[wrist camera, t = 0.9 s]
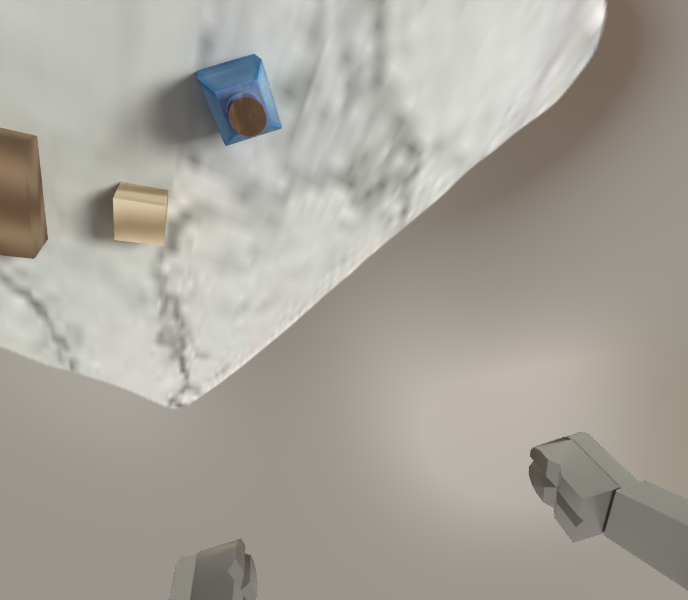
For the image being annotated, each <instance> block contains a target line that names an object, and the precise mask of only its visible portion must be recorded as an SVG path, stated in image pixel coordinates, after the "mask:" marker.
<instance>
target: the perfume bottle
mask: <svg viewBox="0 0 688 600" xmlns="http://www.w3.org/2000/svg"><path fill="white" fill-rule="evenodd" d="M197 79H198V81H199V84H200V86H201V88H202V91H203V93H204V96H205V98H206V100H207V103H208V105H209V108H210V110H211V112H212V115H213V117H214V120H215V122H216V124H217V127H218V129H219V132H220V134H221V136H222V139H223V141H224V144H225V146H227V145H230V144H233V143H237V142H240V141H243V140H246V139H249V138H252V137H256V136H259V135H262V134H265V133H268V132H271V131H274V130H278V129H281V128H282V125H281V122H280V119H279V116H278V112H277V109H276V106H275V102H274V99H273V96H272V92H271V89H270V86H269V83H268V79H267V76H266V73H265V69H264V66H263V63H262V59H260V58H259V57H258V56H256V55H255V54H253V55H249V56H246V57H242V58H239V59H236V60H232V61H229V62H225V63H222V64H219V65H215V66H212V67H208V68H205V69H202V70H198V77H197Z"/></svg>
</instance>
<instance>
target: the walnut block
mask: <svg viewBox="0 0 688 600" xmlns="http://www.w3.org/2000/svg"><path fill="white" fill-rule="evenodd" d="M47 240H48V236H47V226H46V217H45V207H44V198H43V188H42V179H41V169H40V160H39V150H38V141H37V136H34V135H30V134H26V133H21V132H17V131H12V130H8V129H4V128H0V255H5V256H14V257H23V258H32V259H35V257H36V256H37V254H38V253H39V251H40V250H41V248H42V247H43V245H44V244H45V242H46V241H47Z"/></svg>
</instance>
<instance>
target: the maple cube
mask: <svg viewBox="0 0 688 600" xmlns="http://www.w3.org/2000/svg"><path fill="white" fill-rule="evenodd" d="M167 207H168V190H163V189H157V188H152V187H146V186H140V185H135V184H129V183H123V182H120V184H119V186H118V188H117V190H116V193H115V195H114V197H113V217H114V240H119V241H127V242H136V243H144V244H152V245H161V246H164V240H165V234H166V228H167Z"/></svg>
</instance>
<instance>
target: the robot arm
mask: <svg viewBox="0 0 688 600" xmlns="http://www.w3.org/2000/svg"><path fill="white" fill-rule="evenodd" d="M530 457H531V458H532V459H533V460H534V461H533V462H532V464H531V465H530V466H529V477H530V480H531V483H532V485H533V487H534V489H535V491H536V493H537V494H538V496H539V497H540V498H541V500H542V501H543V502H544V503H546V504H548V505H550V506H552V507H553V508H554V516H555V519H556V520H557V522H558V523H559V524H560V526H561V527H562V528H563V530H564V531H565V532H566V534H567V535H568V536H569V538H570V539H571V540H572V542H577V541H580V540H583V539H586V538H590V537H593V536H596V535H599V534H603V533H604V536H606V537H607V538H609V539H610V540H612V541H613V542H615V543H616V544H618V545H620V546H621V547H622V548H624V549H626V550H627V551H629V552H630V553H631V554H633V555H634V556H636V557H638V558H639V559H641V560H642V561H644V562H645V563H647V564H648V565H650V566H651V567H653V568H654V569H656V570H657V571H659V572H660V573H662V574H663V575H665V576H667V577H668V578H670V579H671V580H673V581H674V582H676V583H677V584H679V585H680V586H682V587H683V588H685V589H686V590H688V499H686V498H683V497H681V496H679V495H676V494H674V493H672V492H670V491H668V490H665V489H663V488H661V487H658V486H656V485H654V484H652V483H649V482H647V481H642V482H639V481H638V480H637V479H636V478H635V477H634V476H633V475H632V474H631V473H630V472H629V471H627V470H626V469H625V468H624V467H623V466H622V465H621V464H620V463H619V462H618V461H617V460H616V459H615V458H614V457H613V456H612V455H610V454H609V453H608V452H607V451H606V450H605V449H604V448H603V447H602V446H601V445H600V444H599V443H598V442H596V440H595V439H593V438H592V437H591V436H590V435H589V434H587V433H585V432H579V433H576V434H573V435H570V436H567V437H562V438H559V439H556V440H554V441H550V442H547V443H545V444H541V445H539V446H535V447H533V448H532V449H531V452H530ZM256 597H257V575H256V568H255V565H254V561H253V559H252V557H251V555H249V554H246V553H245V544H244V543H243V541H242V540H241V539H238V540H235V541H232V542H229V543H226V544H222V545H219V546H215V547H212V548H209V549H206V550H202V551H198V552H195V553H192V554H189V555H185V556H182V557H180V559H179V560H178V563H177V565H176V567H175V572H174V577H173V582H172V587H171V591H170V596H169V600H255V599H256Z"/></svg>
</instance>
